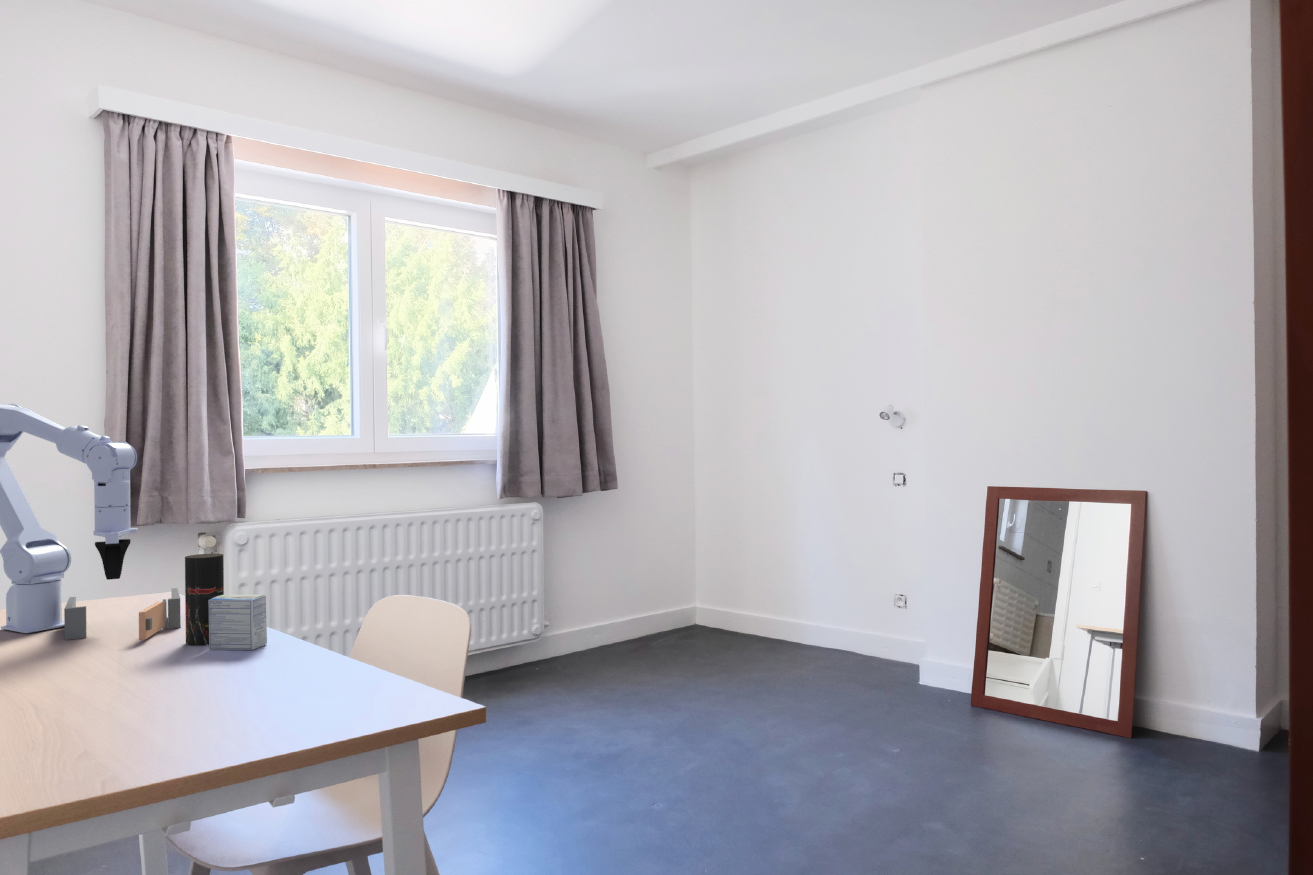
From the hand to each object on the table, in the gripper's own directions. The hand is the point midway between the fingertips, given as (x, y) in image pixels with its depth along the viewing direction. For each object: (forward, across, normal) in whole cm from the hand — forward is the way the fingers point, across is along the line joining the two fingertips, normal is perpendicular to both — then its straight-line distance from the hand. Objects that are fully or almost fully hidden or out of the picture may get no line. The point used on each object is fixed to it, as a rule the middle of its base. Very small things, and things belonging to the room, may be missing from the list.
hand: (113, 578), depth 162 cm
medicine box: (+10, -30, -18) cm, 36 cm away
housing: (+9, +1, -2) cm, 10 cm away
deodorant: (+10, -22, -14) cm, 28 cm away
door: (+9, -11, -6) cm, 16 cm away
